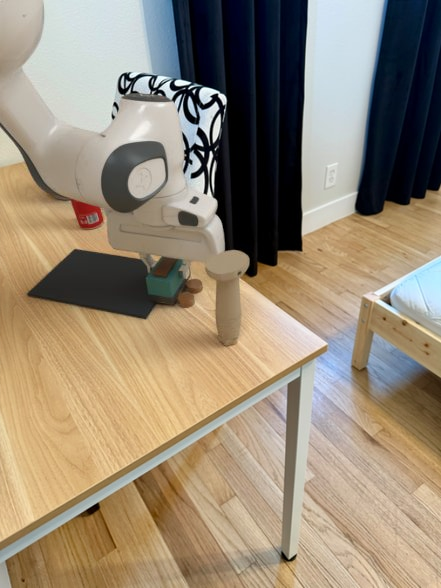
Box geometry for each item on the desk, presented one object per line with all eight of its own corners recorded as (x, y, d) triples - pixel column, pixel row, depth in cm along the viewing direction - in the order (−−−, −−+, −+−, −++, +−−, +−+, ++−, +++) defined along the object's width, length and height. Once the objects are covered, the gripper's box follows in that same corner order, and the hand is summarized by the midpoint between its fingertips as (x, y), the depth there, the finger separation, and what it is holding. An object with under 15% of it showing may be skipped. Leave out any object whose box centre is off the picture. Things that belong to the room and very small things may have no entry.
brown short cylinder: (175, 305, 76) (174, 300, 75) (182, 295, 78) (181, 290, 77) (190, 309, 75) (190, 303, 74) (197, 299, 77) (196, 293, 76)
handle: (253, 337, 69) (256, 259, 60) (224, 357, 66) (221, 278, 56) (233, 323, 72) (232, 246, 62) (203, 341, 68) (198, 263, 59)
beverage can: (109, 221, 101) (96, 159, 92) (88, 234, 97) (72, 169, 87) (91, 216, 103) (76, 154, 94) (70, 227, 99) (53, 164, 90)
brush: (149, 300, 76) (144, 273, 72) (168, 272, 82) (165, 246, 79) (173, 304, 74) (169, 277, 71) (190, 275, 81) (188, 249, 78)
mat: (27, 296, 79) (26, 293, 79) (75, 251, 91) (74, 248, 91) (146, 319, 73) (145, 316, 73) (180, 267, 85) (180, 265, 85)
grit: (184, 292, 79) (183, 287, 78) (189, 282, 81) (188, 277, 80) (200, 294, 78) (199, 289, 77) (204, 284, 80) (204, 279, 80)
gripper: (92, 204, 68) (108, 275, 77) (214, 219, 63) (217, 293, 71) (111, 188, 73) (124, 256, 81) (226, 201, 68) (228, 272, 76)
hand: (169, 274), depth 76 cm, fingers closed on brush, 4 cm apart
